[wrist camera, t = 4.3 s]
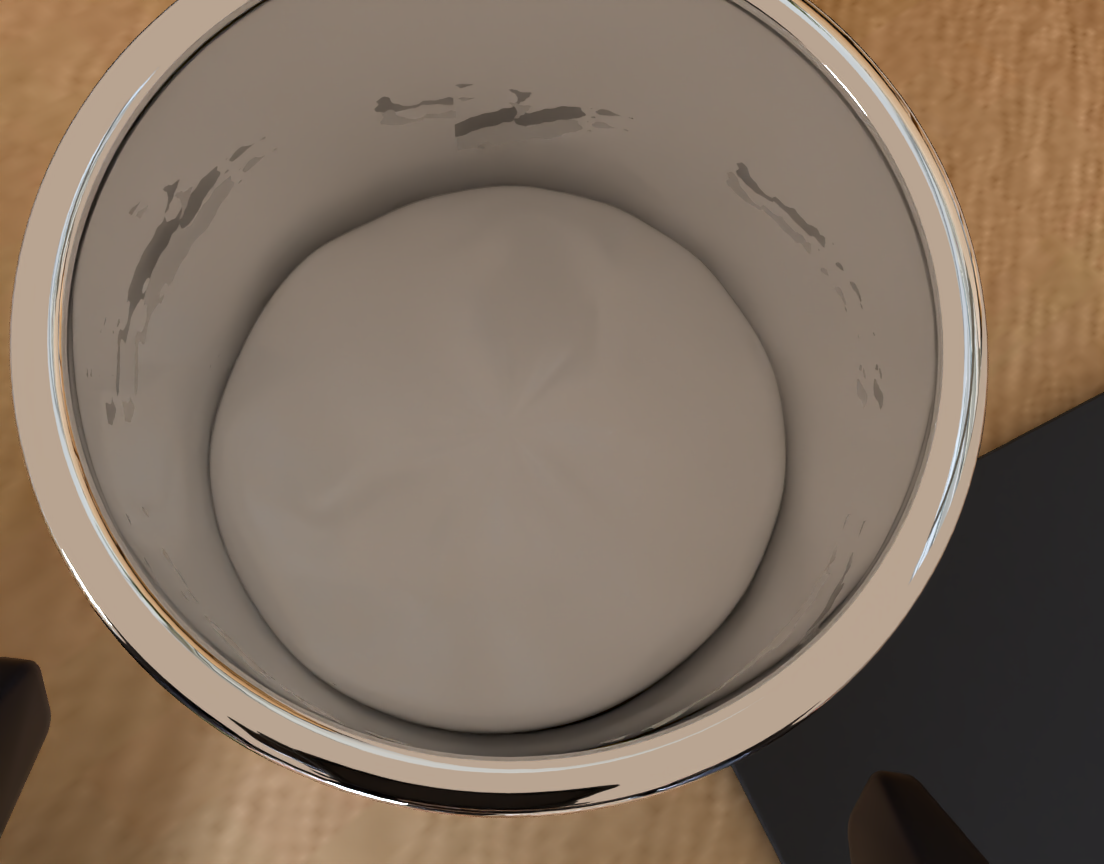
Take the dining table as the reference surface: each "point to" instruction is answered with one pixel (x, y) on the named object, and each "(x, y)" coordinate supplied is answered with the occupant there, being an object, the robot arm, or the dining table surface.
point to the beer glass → (499, 382)
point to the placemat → (977, 676)
